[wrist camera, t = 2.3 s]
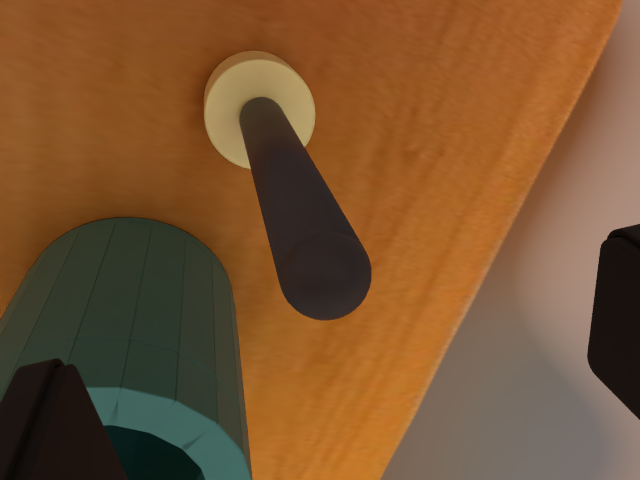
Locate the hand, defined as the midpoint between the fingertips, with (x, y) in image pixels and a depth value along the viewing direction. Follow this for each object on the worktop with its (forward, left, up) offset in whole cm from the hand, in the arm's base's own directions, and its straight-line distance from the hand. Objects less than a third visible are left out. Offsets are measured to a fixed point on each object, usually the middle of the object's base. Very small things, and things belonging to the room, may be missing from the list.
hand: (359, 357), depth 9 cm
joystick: (0, 0, -20) cm, 20 cm away
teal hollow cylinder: (+10, -9, -20) cm, 24 cm away
